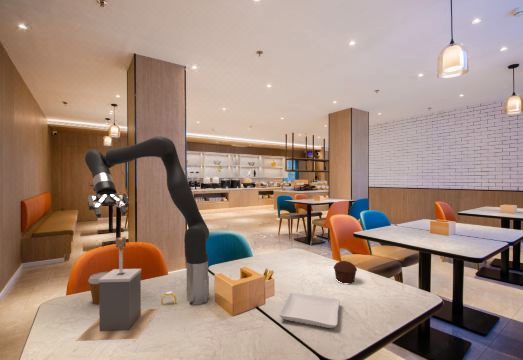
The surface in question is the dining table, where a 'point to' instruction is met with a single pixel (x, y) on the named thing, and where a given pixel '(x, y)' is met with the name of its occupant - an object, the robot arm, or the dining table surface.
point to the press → (119, 299)
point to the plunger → (121, 252)
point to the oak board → (133, 333)
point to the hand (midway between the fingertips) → (112, 215)
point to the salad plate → (311, 310)
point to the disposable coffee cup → (95, 286)
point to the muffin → (345, 271)
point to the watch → (168, 295)
